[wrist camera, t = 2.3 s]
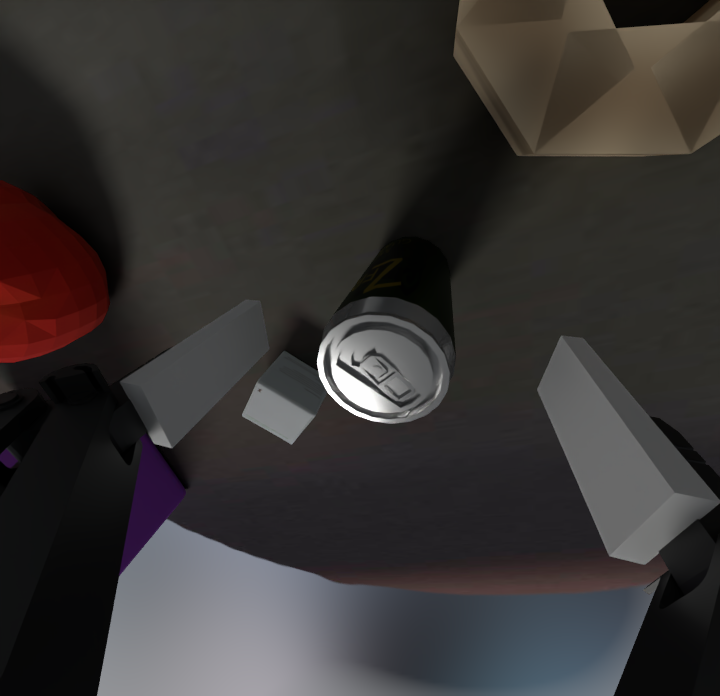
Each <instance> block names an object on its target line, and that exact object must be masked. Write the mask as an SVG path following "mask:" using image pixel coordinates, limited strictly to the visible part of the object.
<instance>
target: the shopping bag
mask: <svg viewBox="0 0 720 696" xmlns="http://www.w3.org/2000/svg"><path fill="white" fill-rule="evenodd" d="M140 440H141V442H142V446H143V448H142V453H141V459H140V464H139V470H138V475H137V481H136V486H135V491H134V497H133V502H132V508H131V513H130V519H129V524H128V530H127V535H126V540H125V546H124V551H123V557H122V562H121V568H120V573H119V576H120V574H121V573H122V572H123V571H124V570H125V568H126V567H127V566H128V565H129V564H130V562H131V561H132V560H133V559H134V557H135V556H136V555H137V554H138V553H139V551H140V550H141V549H142V548H143V547H144V545H145V544H146V543H147V542H148V541H149V539H150V538H151V537H152V536H153V535H154V533H155V532H156V531H157V530H158V529H159V527H160V526H161V525H162V524H163V522H164V521H165V520H166V519H167V518H168V516H169V515H170V514H171V513H172V512H173V510H174V509H175V508H176V507H177V506H178V504H179V503H180V502H181V500H182V499H183V498H184V496H185V494H186V491H185V488H184V487H183V485H182V483H181V482H180V480H179V479H178V478H177V476H176V475H175V473H174V472H173V470H172V469H171V468H170V466H169V465H168V463H167V462H166V461H165V459H164V458H163V456H162V455H161V453H160V452H159V451H158V449H157V448H156V446H155V445H154V443H153V442H152V441H151V439H150V438H149V436H148V435H147V434H146V433H145V434H144V435H143V436H142V437H141V438H140ZM0 461H1V462H2V463H3V464H4V465H5V466H6V467H8V468H11V467H12V466H14V465H15V464H16V462H17V461H18V460H17V459H16V458H15V457H14V456H13V455H12V454H11V453H10V452H9V451H8V450H7V449H5V450H4V451H3V452H2V453H1V454H0Z"/></svg>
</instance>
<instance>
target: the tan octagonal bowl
mask: <svg viewBox="0 0 720 696" xmlns="http://www.w3.org/2000/svg"><path fill="white" fill-rule="evenodd" d="M453 56H454V58H455V59H456V61H457V63H458V64H459V66H460V67H461V69H462V70H463V72H464V73H465V75H466V77H467V78H468V80H469V81H470V83H471V84H472V86H473V88H474V89H475V91H476V92H477V94H478V95H479V97H480V98H481V100H482V102H483V103H484V105H485V106H486V108H487V109H488V111H489V113H490V114H491V116H492V117H493V119H494V120H495V122H496V124H497V125H498V127H499V128H500V130H501V131H502V133H503V134H504V136H505V138H506V139H507V141H508V142H509V144H510V145H511V147H512V149H513V150H514V152H515V153H516V155H517V156H656V155H676V154H691V153H693V152H694V151H696V150H697V149H699V148H700V147H702V146H703V145H705V144H706V143H708V142H709V141H711V140H712V139H714V138H715V137H717V136H718V135H720V0H709V1H708V2H707V3H706V4H705V5H704V6H702V7H701V8H700V9H699V10H698V11H697V12H695V13H694V14H693V15H692V16H691V17H690V18H688V19H687V20H686V21H685V22H684V23H682V24H668V25H655V26H642V27H628V28H616V27H615V25H614V23H613V21H612V19H611V17H610V14H609V12H608V10H607V8H606V6H605V4H604V2H603V0H460V2H459V10H458V18H457V25H456V34H455V44H454V54H453Z"/></svg>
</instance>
